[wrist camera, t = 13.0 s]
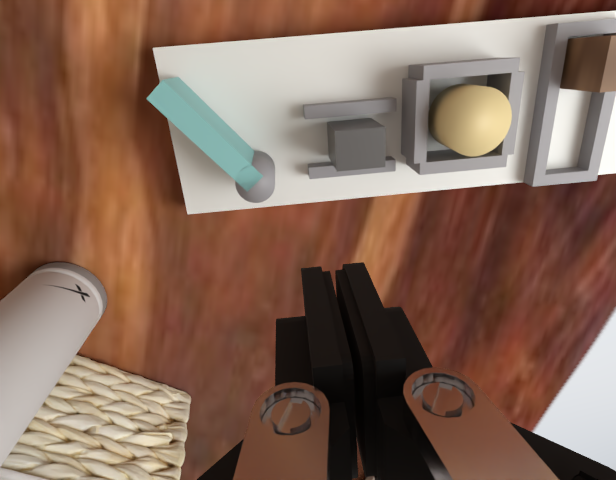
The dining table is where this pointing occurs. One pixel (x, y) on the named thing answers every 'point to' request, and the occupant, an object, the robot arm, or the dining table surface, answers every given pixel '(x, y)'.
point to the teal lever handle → (216, 139)
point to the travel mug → (42, 340)
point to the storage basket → (103, 429)
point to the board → (400, 108)
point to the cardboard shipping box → (590, 64)
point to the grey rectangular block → (356, 144)
